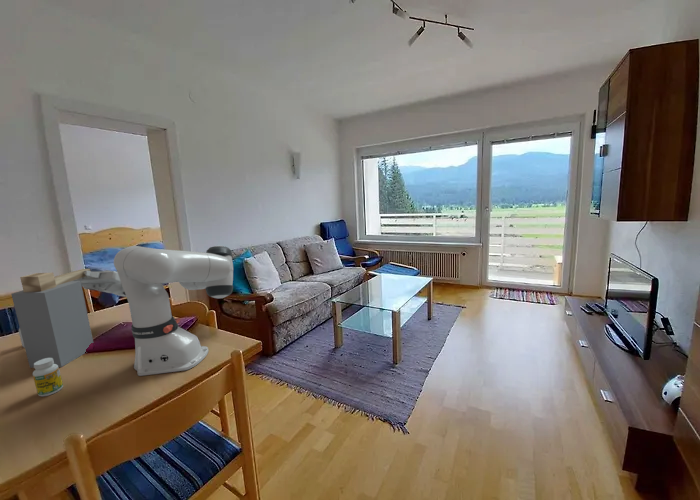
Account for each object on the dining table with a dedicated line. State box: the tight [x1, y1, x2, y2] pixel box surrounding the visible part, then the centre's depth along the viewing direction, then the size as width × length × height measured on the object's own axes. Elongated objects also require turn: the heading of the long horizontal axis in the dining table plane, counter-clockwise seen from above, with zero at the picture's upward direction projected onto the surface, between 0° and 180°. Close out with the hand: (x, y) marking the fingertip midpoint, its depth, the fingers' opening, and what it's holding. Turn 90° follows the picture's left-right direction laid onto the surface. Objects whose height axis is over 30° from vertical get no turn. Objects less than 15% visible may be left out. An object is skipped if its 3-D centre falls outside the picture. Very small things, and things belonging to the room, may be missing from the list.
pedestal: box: [11, 281, 94, 369], centre depth 107 cm, size 11×13×26 cm
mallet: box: [19, 268, 91, 292], centre depth 109 cm, size 6×20×5 cm, turn 178°
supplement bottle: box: [32, 358, 64, 397], centre depth 89 cm, size 5×5×10 cm
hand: (79, 272), depth 116 cm, fingers closed on mallet, 3 cm apart
